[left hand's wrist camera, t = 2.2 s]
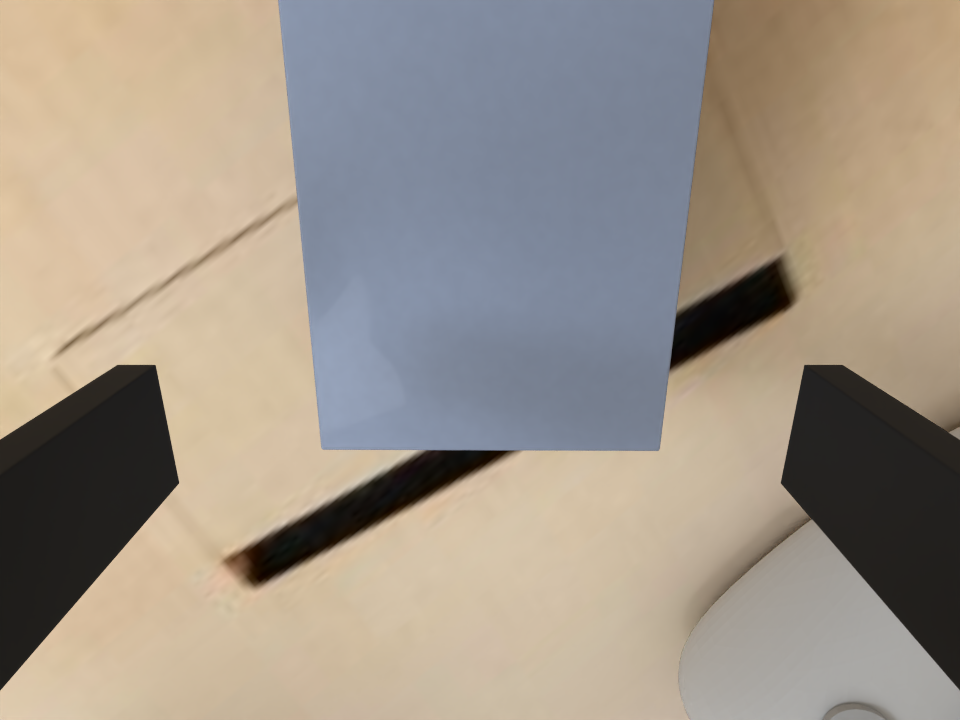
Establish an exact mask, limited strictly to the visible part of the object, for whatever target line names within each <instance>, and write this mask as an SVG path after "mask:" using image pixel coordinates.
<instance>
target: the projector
mask: <svg viewBox="0 0 960 720" xmlns="http://www.w3.org/2000/svg"><path fill="white" fill-rule="evenodd" d="M949 433H950V434H952V435H953V436H955V437H956V438H958V439H959V440H960V427H958V428H956V429H954V430H952V431H950V432H949ZM678 681H679V690H680V694H681V698H682V701H683V704H684V707H685V710H686V712H687V715H688V717H689V719H690V720H960V690H959V689H958V688H957V687H956V686H955V684H954V683H953V682H952V681H951V680H950V679H949V677H948V676H947V675H946V674H945V673H944V672H943V670H942V669H941V668H940V667H939V666H938V665H937V664H936V662H935V661H934V660H933V659H932V658H931V657H930V655H929V654H928V653H927V652H926V651H925V650H924V648H923V647H922V646H921V645H920V644H919V643H918V642H917V640H916V639H915V638H914V637H913V636H912V635H911V633H910V632H909V631H908V630H907V629H906V628H905V626H904V625H903V624H902V623H901V622H900V621H899V619H898V618H897V617H896V616H895V615H894V614H893V613H892V611H891V610H890V609H889V608H888V607H887V606H886V604H885V603H884V602H883V601H882V600H881V599H880V597H879V596H878V595H877V594H876V593H875V592H874V590H873V589H872V588H871V587H870V586H869V585H868V584H867V582H866V581H865V580H864V579H863V578H862V577H861V575H860V574H859V573H858V572H857V571H856V570H855V568H854V567H853V566H852V565H851V564H850V563H849V562H848V560H847V559H846V558H845V557H844V556H843V555H842V553H841V552H840V551H839V550H838V549H837V548H836V546H835V545H834V544H833V543H832V542H831V541H830V539H829V538H828V537H827V536H826V535H825V534H824V533H823V531H822V530H821V529H820V528H819V527H818V526H817V524H816V523H815V522H814V521H813V520H812V519H811V520H810V521H809V522H807V523H806V524H805V525H803V526H802V527H801V528H799V529H798V530H797V531H796V532H794V533H793V534H792V535H791V536H789V537H788V538H787V539H786V540H784V541H783V542H782V543H780V544H779V545H778V546H777V547H775V548H774V549H773V550H772V551H771V552H770V553H768V554H767V555H766V556H765V557H764V558H763V559H761V560H760V561H759V562H758V563H757V564H755V565H754V566H753V567H752V568H751V569H750V570H749V571H748V572H746V573H745V574H744V575H743V576H742V577H741V578H740V579H739V580H738V581H737V582H735V583H734V584H733V585H732V586H731V587H730V588H729V589H728V590H727V591H726V592H725V593H724V594H723V595H722V596H721V597H720V598H719V599H718V600H717V601H716V602H715V603H714V604H713V605H712V606H711V607H710V609H709V610H708V611H707V612H706V613H705V614H704V615H703V617H702V618H701V619H700V620H699V622H698V623H697V625H696V626H695V627H694V629H693V630H692V632H691V633H690V635H689V637H688V639H687V641H686V643H685V646H684V648H683V651H682V654H681V658H680V663H679V672H678Z"/></svg>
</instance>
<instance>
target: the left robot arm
mask: <svg viewBox="0 0 960 720" xmlns="http://www.w3.org/2000/svg"><path fill="white" fill-rule="evenodd" d="M178 484H179V480H178V475H177V470H176V465H175V460H174V455H173V450H172V445H171V440H170V435H169V430H168V425H167V420H166V415H165V410H164V405H163V400H162V395H161V390H160V385H159V380H158V375H157V370H156V365H117V366H115V367H114V368H112V369H111V370H109V371H107V372H106V373H104V374H103V375H101V376H100V377H98V378H96V379H95V380H93V381H92V382H90V383H89V384H87V385H85V386H84V387H82V388H81V389H79V390H78V391H76V392H74V393H73V394H71V395H70V396H68V397H67V398H65V399H63V400H62V401H60V402H59V403H57V404H56V405H54V406H52V407H51V408H49V409H48V410H46V411H45V412H43V413H41V414H40V415H38V416H37V417H35V418H34V419H32V420H30V421H29V422H27V423H26V424H24V425H23V426H21V427H19V428H18V429H16V430H15V431H13V432H12V433H10V434H8V435H7V436H5V437H4V438H2V439H1V440H0V690H1V689H2V688H3V687H4V686H5V684H6V683H7V682H8V681H9V680H10V679H11V677H12V676H13V675H14V674H15V673H16V672H17V670H18V669H19V668H20V667H21V666H22V665H23V664H24V662H25V661H26V660H27V659H28V658H29V657H30V655H31V654H32V653H33V652H34V651H35V650H36V648H37V647H38V646H39V645H40V644H41V643H42V642H43V640H44V639H45V638H46V637H47V636H48V635H49V633H50V632H51V631H52V630H53V629H54V628H55V626H56V625H57V624H58V623H59V622H60V621H61V619H62V618H63V617H64V616H65V615H66V614H67V613H68V611H69V610H70V609H71V608H72V607H73V606H74V604H75V603H76V602H77V601H78V600H79V599H80V597H81V596H82V595H83V594H84V593H85V592H86V590H87V589H88V588H89V587H90V586H91V585H92V584H93V582H94V581H95V580H96V579H97V578H98V577H99V575H100V574H101V573H102V572H103V571H104V570H105V568H106V567H107V566H108V565H109V564H110V563H111V562H112V560H113V559H114V558H115V557H116V556H117V555H118V553H119V552H120V551H121V550H122V549H123V548H124V546H125V545H126V544H127V543H128V542H129V541H130V539H131V538H132V537H133V536H134V535H135V534H136V533H137V531H138V530H139V529H140V528H141V527H142V526H143V524H144V523H145V522H146V521H147V520H148V519H149V517H150V516H151V515H152V514H153V513H154V512H155V511H156V509H157V508H158V507H159V506H160V505H161V504H162V502H163V501H164V500H165V499H166V498H167V497H168V495H169V494H170V493H171V492H172V491H173V490H174V488H175V487H176V486H177V485H178ZM781 484H782V485H783V486H784V487H785V488H786V490H787V491H788V492H789V493H790V494H791V495H792V497H793V498H794V499H795V500H796V501H797V502H798V504H799V505H800V506H801V507H802V508H803V509H804V511H805V512H806V513H807V514H808V515H809V516H810V517H811V519H812V520H813V521H814V522H815V523H816V524H817V526H818V527H819V528H820V529H821V530H822V531H823V533H824V534H825V535H826V536H827V537H828V538H829V539H830V541H831V542H832V543H833V544H834V545H835V546H836V548H837V549H838V550H839V551H840V552H841V553H842V555H843V556H844V557H845V558H846V559H847V560H848V562H849V563H850V564H851V565H852V566H853V567H854V568H855V570H856V571H857V572H858V573H859V574H860V575H861V577H862V578H863V579H864V580H865V581H866V582H867V584H868V585H869V586H870V587H871V588H872V589H873V590H874V592H875V593H876V594H877V595H878V596H879V597H880V599H881V600H882V601H883V602H884V603H885V604H886V606H887V607H888V608H889V609H890V610H891V611H892V613H893V614H894V615H895V616H896V617H897V618H898V619H899V621H900V622H901V623H902V624H903V625H904V626H905V628H906V629H907V630H908V631H909V632H910V633H911V635H912V636H913V637H914V638H915V639H916V640H917V642H918V643H919V644H920V645H921V646H922V647H923V648H924V650H925V651H926V652H927V653H928V654H929V655H930V657H931V658H932V659H933V660H934V661H935V662H936V664H937V665H938V666H939V667H940V668H941V669H942V670H943V672H944V673H945V674H946V675H947V676H948V677H949V679H950V680H951V681H952V682H953V683H954V684H955V686H956V687H957V688H958V689H959V690H960V440H959V439H958V438H956V437H955V436H953V435H952V434H950V433H948V432H947V431H945V430H944V429H942V428H941V427H939V426H937V425H936V424H934V423H933V422H931V421H930V420H928V419H926V418H925V417H923V416H922V415H920V414H919V413H917V412H915V411H914V410H912V409H911V408H909V407H908V406H906V405H904V404H903V403H901V402H900V401H898V400H897V399H895V398H893V397H892V396H890V395H889V394H887V393H886V392H884V391H882V390H881V389H879V388H878V387H876V386H875V385H873V384H871V383H870V382H868V381H867V380H865V379H864V378H862V377H860V376H859V375H857V374H856V373H854V372H853V371H851V370H849V369H848V368H846V367H845V366H843V365H804V370H803V375H802V380H801V385H800V390H799V395H798V400H797V405H796V410H795V415H794V420H793V425H792V430H791V435H790V440H789V445H788V450H787V455H786V460H785V465H784V470H783V475H782V480H781Z"/></svg>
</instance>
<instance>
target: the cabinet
mask: <svg viewBox="0 0 960 720" xmlns="http://www.w3.org/2000/svg"><path fill="white" fill-rule="evenodd" d="M278 2H279V13H280V23H281V33H282V44H283V54H284V65H285V75H286V85H287V96H288V106H289V116H290V127H291V137H292V147H293V158H294V168H295V178H296V189H297V199H298V210H299V220H300V230H301V241H302V251H303V261H304V272H305V282H306V292H307V303H308V313H309V323H310V334H311V344H312V354H313V365H314V375H315V386H316V396H317V406H318V417H319V427H320V437H321V447H322V449H324V450H586V451H658V450H659V449H660V442H661V434H662V425H663V417H664V409H665V401H666V392H667V384H668V376H669V368H670V360H671V351H672V343H673V335H674V327H675V318H676V310H677V302H678V294H679V286H680V277H681V269H682V261H683V253H684V245H685V236H686V228H687V220H688V212H689V203H690V195H691V187H692V179H693V171H694V162H695V154H696V146H697V138H698V129H699V121H700V113H701V105H702V97H703V88H704V80H705V72H706V64H707V55H708V47H709V39H710V31H711V23H712V14H713V6H714V0H278Z"/></svg>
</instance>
